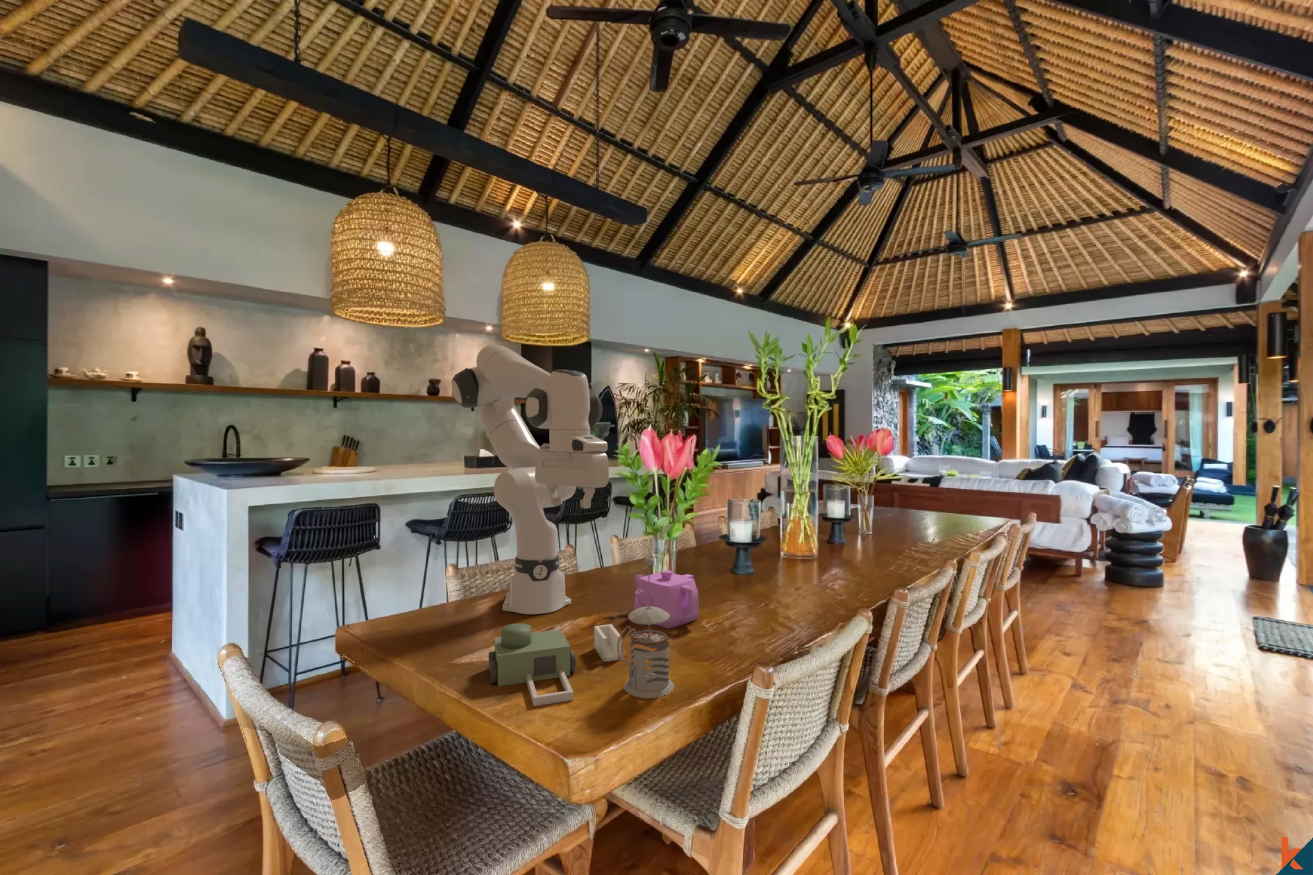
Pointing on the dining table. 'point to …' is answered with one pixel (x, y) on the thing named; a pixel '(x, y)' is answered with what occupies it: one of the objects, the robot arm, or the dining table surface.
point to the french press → (648, 652)
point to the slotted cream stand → (607, 642)
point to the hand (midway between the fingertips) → (570, 506)
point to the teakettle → (669, 596)
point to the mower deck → (532, 660)
